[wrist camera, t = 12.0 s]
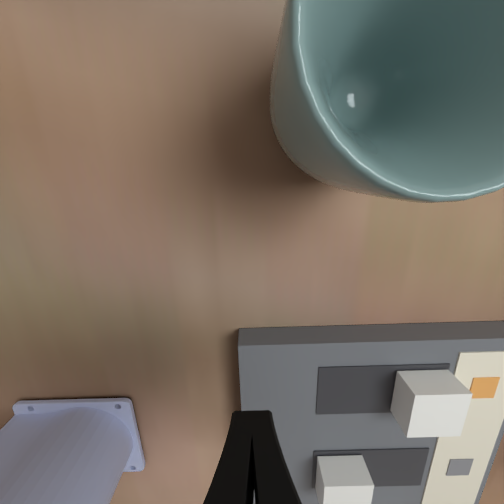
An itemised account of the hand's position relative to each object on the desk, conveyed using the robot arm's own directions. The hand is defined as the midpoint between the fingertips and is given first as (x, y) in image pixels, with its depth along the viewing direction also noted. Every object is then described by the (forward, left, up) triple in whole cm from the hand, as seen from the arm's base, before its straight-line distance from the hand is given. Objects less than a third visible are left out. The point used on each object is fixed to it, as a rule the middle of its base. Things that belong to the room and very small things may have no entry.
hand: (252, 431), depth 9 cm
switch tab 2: (+12, -6, -7) cm, 15 cm away
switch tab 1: (+6, -14, -7) cm, 17 cm away
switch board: (+9, -14, -9) cm, 19 cm away
